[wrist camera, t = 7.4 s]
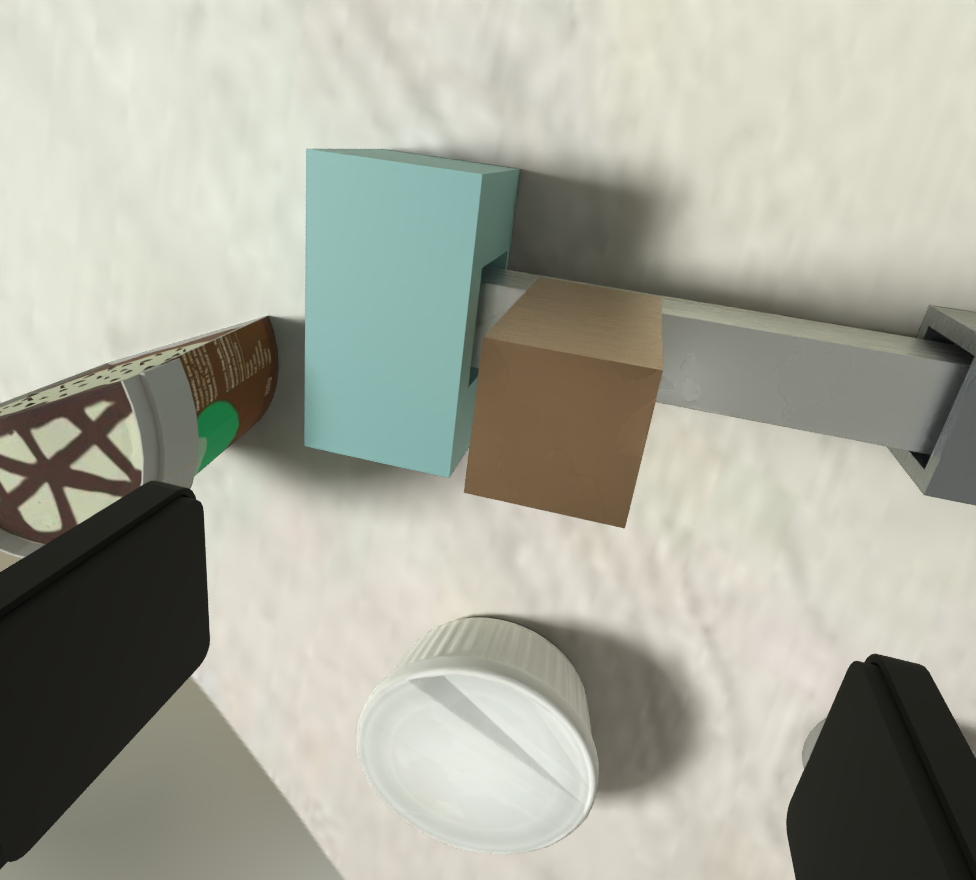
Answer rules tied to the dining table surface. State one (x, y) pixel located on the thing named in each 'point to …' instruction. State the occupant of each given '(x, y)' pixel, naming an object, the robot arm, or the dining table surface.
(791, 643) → the dining table surface
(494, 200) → the socket block
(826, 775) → the robot arm
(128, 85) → the dining table surface
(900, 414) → the multicoloured piece
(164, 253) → the dining table surface
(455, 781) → the ramekin
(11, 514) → the food container
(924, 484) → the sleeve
